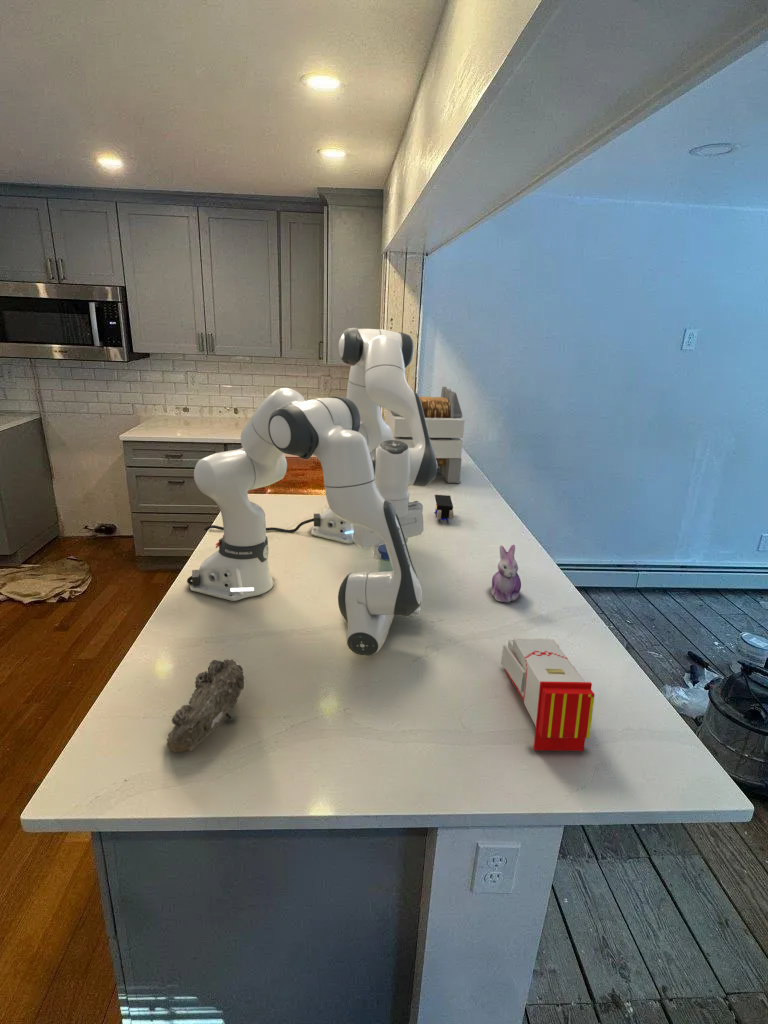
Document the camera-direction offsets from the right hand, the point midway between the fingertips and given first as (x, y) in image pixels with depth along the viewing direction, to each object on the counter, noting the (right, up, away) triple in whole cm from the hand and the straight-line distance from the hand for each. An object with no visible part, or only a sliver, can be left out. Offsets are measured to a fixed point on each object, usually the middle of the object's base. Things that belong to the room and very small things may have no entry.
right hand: (388, 556), depth 148 cm
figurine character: (+21, +9, +69) cm, 72 cm away
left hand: (0, -8, +4) cm, 9 cm away
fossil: (-34, -28, -40) cm, 59 cm away
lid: (0, +2, -1) cm, 2 cm away
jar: (-1, -13, +5) cm, 14 cm away
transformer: (+16, +30, +127) cm, 132 cm away
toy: (+30, -28, -32) cm, 52 cm away
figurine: (+33, -12, +12) cm, 37 cm away
